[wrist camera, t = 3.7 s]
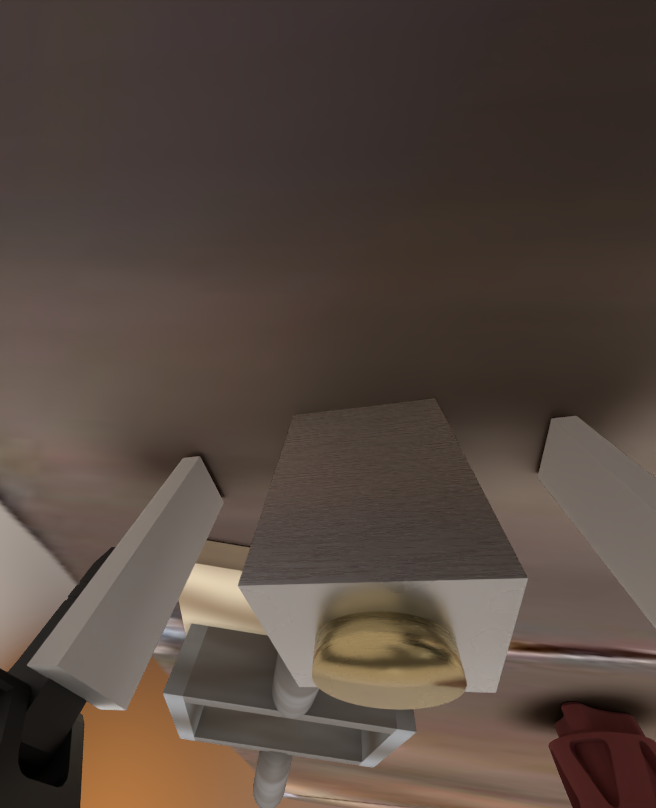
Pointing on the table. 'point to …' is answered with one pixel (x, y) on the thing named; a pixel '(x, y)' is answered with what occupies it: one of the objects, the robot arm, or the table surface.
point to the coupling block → (383, 560)
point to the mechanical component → (604, 759)
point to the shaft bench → (261, 687)
